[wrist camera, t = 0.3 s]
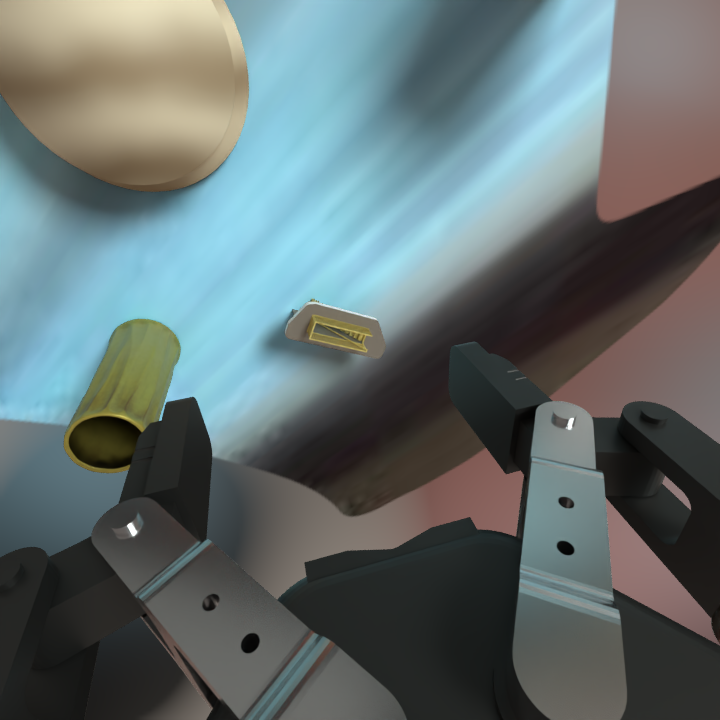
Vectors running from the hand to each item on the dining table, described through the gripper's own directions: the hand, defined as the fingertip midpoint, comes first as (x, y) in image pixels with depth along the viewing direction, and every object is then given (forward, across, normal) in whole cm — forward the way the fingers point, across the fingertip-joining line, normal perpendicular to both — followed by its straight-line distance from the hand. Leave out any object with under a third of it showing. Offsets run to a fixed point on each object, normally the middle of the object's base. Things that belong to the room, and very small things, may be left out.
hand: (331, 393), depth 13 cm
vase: (+29, +14, +11) cm, 34 cm away
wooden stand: (+29, +8, -11) cm, 32 cm away
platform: (+29, -4, +10) cm, 31 cm away
